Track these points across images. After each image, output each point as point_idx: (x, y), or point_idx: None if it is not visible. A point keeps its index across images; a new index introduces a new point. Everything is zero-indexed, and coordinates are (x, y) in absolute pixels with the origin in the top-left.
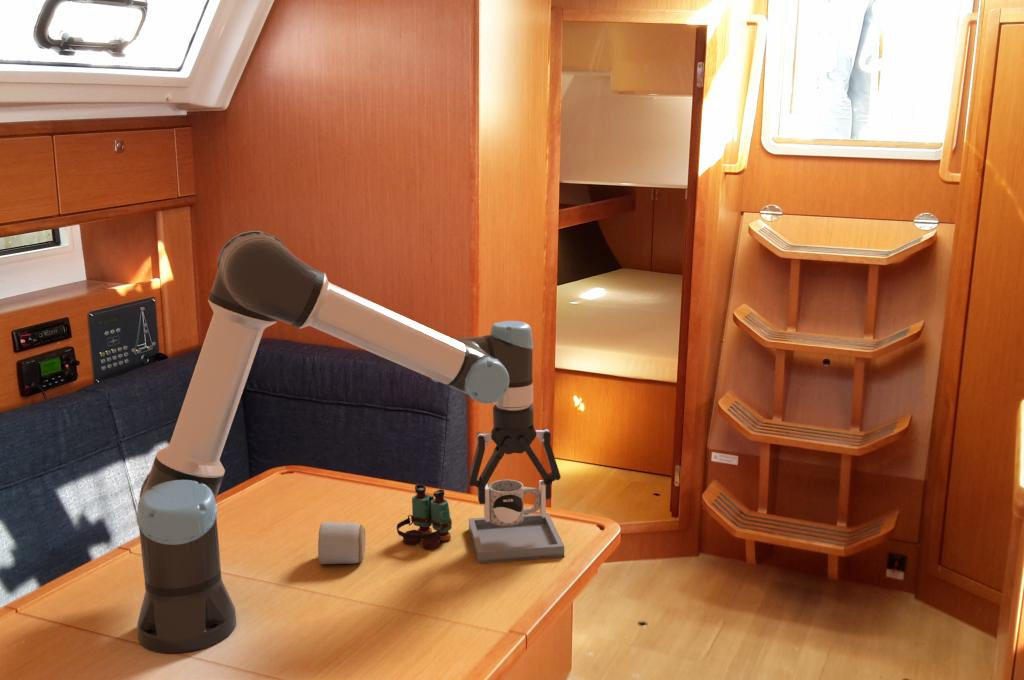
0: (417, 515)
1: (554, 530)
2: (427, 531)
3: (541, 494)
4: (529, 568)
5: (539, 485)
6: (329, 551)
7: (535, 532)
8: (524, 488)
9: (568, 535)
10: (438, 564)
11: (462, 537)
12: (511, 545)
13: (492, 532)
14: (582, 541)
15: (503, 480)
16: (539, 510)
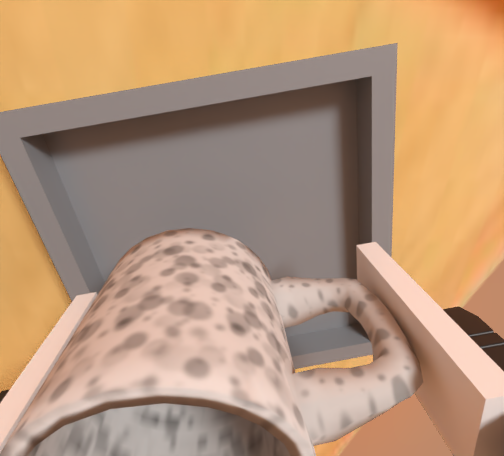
0: None
1: (383, 245)
2: None
3: (420, 396)
4: None
5: (452, 372)
6: None
7: (307, 182)
8: (320, 439)
9: (422, 178)
10: (12, 379)
11: (18, 197)
12: None
13: (134, 183)
14: (454, 226)
15: (117, 402)
16: (360, 249)
